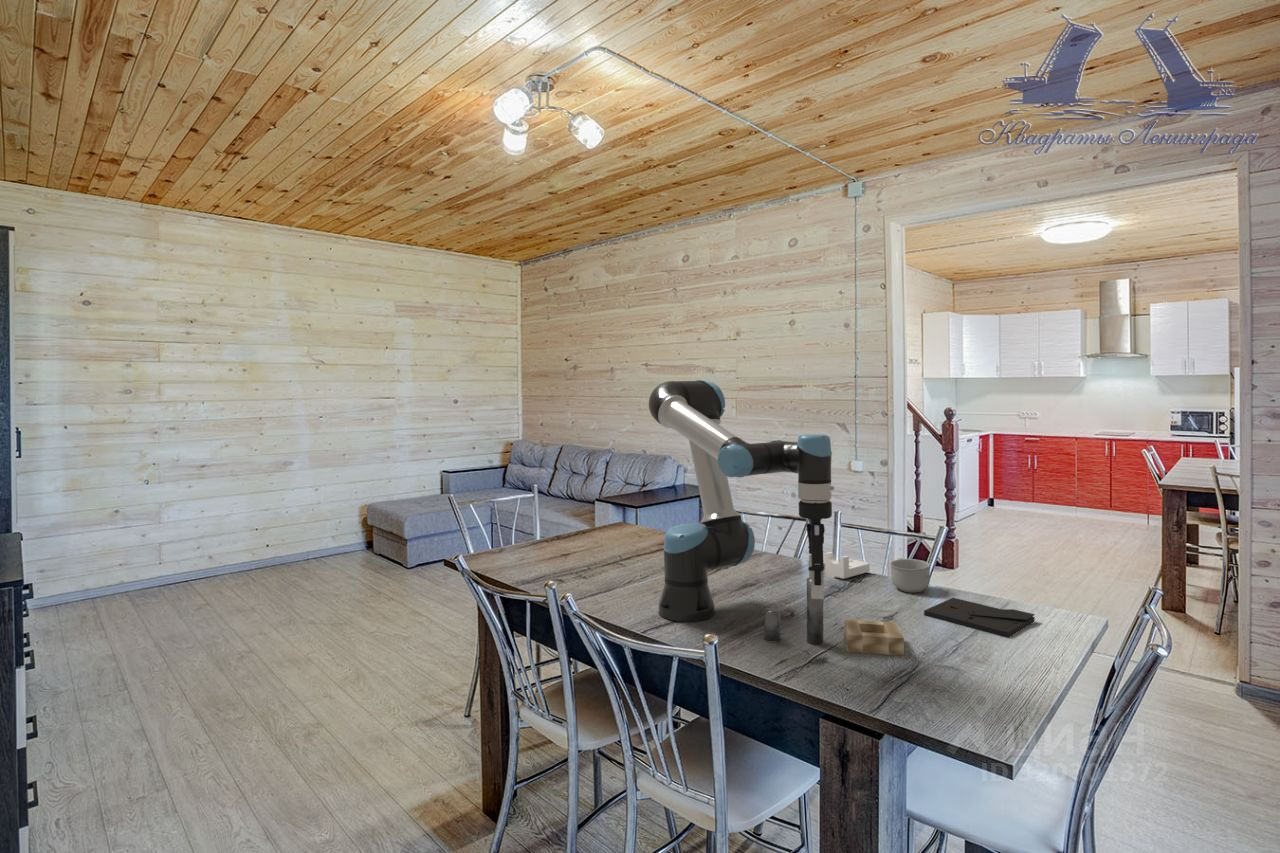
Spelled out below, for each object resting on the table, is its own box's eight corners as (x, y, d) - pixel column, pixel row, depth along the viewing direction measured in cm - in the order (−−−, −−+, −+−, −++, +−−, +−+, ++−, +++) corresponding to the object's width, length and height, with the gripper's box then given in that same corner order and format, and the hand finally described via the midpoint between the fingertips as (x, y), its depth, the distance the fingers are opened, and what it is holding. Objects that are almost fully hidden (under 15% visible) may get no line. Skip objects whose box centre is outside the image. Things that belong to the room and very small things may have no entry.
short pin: (763, 641, 157) (763, 612, 157) (764, 635, 161) (764, 607, 161) (780, 642, 157) (780, 613, 156) (780, 636, 160) (780, 608, 160)
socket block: (847, 651, 150) (847, 634, 150) (843, 635, 160) (844, 619, 160) (903, 655, 148) (903, 638, 148) (896, 638, 158) (896, 622, 157)
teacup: (933, 596, 188) (933, 568, 188) (893, 594, 191) (893, 567, 190) (922, 582, 202) (923, 556, 202) (885, 580, 204) (885, 555, 204)
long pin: (807, 644, 155) (807, 581, 154) (806, 638, 159) (806, 576, 158) (823, 645, 154) (823, 582, 154) (822, 639, 158) (822, 577, 157)
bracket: (843, 581, 205) (843, 557, 204) (825, 576, 210) (825, 553, 210) (869, 574, 212) (869, 551, 212) (851, 569, 218) (850, 546, 217)
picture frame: (1034, 625, 167) (952, 605, 183) (1034, 614, 167) (952, 594, 183) (1007, 641, 157) (923, 618, 173) (1008, 629, 157) (924, 607, 173)
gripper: (835, 509, 142) (836, 607, 143) (828, 492, 166) (829, 575, 167) (799, 509, 143) (801, 605, 144) (797, 492, 168) (798, 574, 169)
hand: (816, 589), depth 156 cm, fingers open, 13 cm apart
